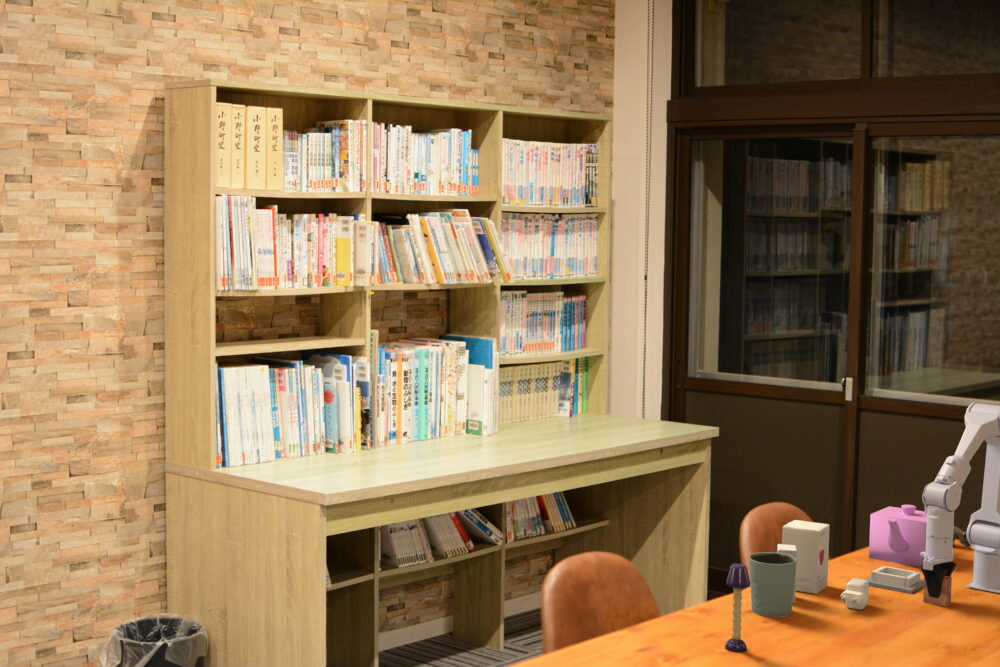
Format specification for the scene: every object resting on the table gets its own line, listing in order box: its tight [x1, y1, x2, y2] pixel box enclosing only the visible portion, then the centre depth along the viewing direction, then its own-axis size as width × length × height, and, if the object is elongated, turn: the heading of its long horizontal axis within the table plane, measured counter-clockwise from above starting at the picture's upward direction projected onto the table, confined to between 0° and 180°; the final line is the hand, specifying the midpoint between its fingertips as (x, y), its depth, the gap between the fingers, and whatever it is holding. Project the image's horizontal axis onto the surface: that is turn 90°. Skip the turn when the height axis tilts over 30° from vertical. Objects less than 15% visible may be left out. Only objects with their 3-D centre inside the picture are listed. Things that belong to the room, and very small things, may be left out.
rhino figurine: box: [953, 525, 971, 548], centre depth 320 cm, size 4×14×6 cm, turn 49°
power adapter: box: [840, 577, 870, 611], centre depth 261 cm, size 11×5×6 cm, turn 149°
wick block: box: [922, 576, 953, 607], centre depth 267 cm, size 4×5×6 cm
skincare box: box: [776, 543, 797, 604], centre depth 268 cm, size 6×4×12 cm
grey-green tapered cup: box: [748, 551, 797, 618], centre depth 258 cm, size 10×10×12 cm
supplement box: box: [781, 519, 831, 595], centre depth 278 cm, size 9×9×15 cm
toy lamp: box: [724, 563, 751, 652], centre depth 233 cm, size 5×5×17 cm
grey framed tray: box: [864, 565, 924, 595], centre depth 282 cm, size 12×12×3 cm
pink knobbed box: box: [868, 504, 927, 568], centre depth 306 cm, size 15×25×14 cm, turn 141°
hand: (937, 595), depth 267 cm, fingers closed on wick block, 3 cm apart
